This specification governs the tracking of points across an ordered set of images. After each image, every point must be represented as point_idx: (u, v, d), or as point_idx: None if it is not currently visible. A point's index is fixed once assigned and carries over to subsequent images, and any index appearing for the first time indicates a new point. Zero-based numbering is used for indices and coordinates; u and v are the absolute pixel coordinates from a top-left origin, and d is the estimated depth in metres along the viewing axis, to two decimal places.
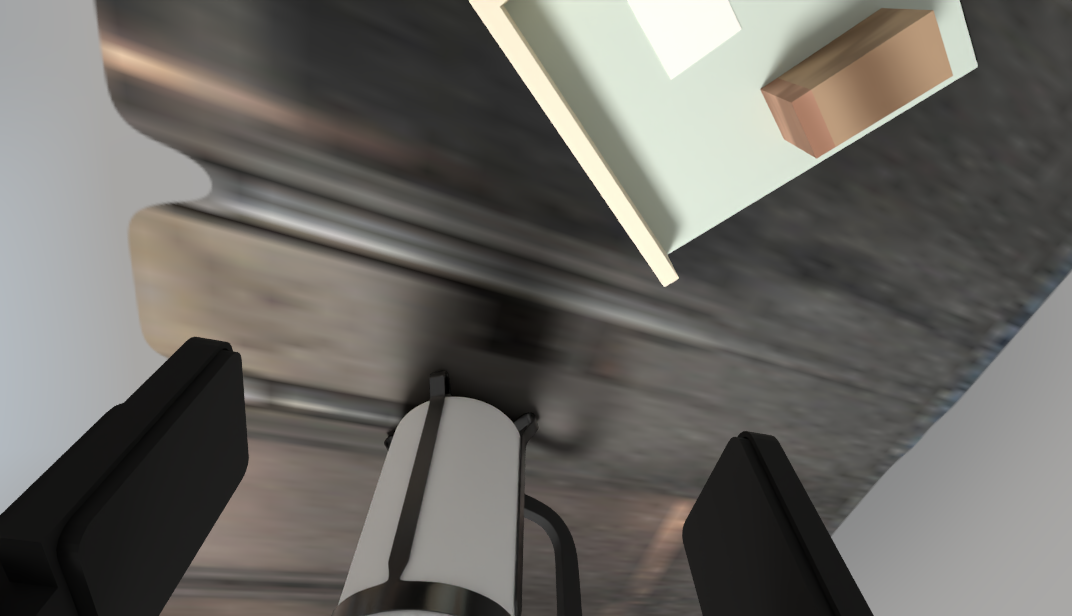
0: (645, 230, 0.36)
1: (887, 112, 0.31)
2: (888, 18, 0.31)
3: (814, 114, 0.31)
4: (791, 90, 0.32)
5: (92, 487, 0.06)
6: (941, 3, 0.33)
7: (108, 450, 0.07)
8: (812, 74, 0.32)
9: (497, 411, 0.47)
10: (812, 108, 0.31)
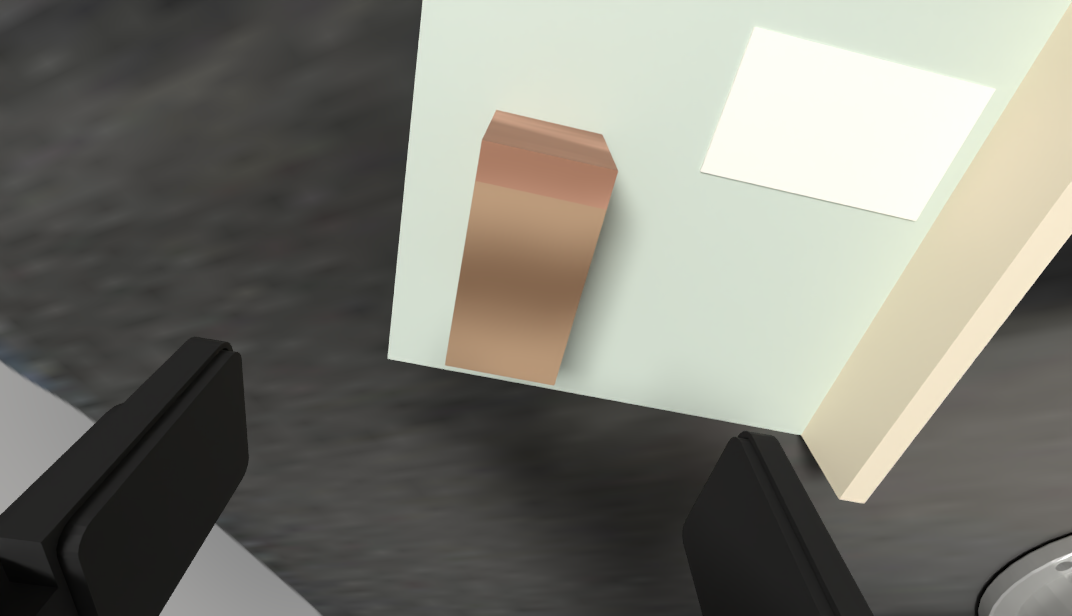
0: None
1: (464, 276, 0.17)
2: None
3: (563, 188, 0.16)
4: None
5: (91, 487, 0.06)
6: None
7: (108, 450, 0.07)
8: None
9: None
10: (575, 192, 0.16)
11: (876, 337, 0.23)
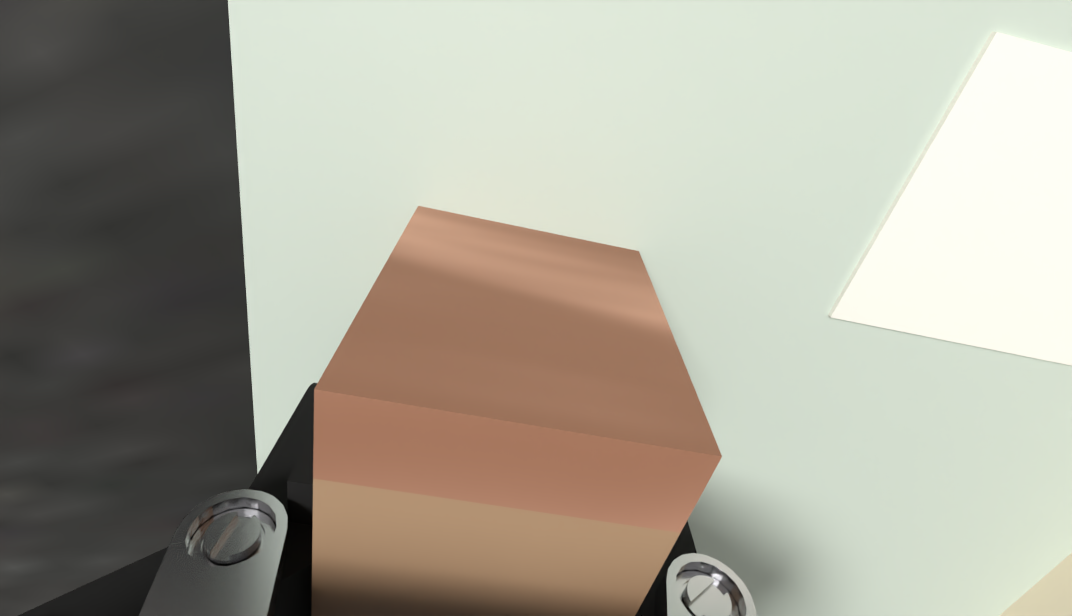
0: None
1: None
2: None
3: (562, 492, 0.06)
4: None
5: None
6: None
7: None
8: None
9: None
10: (597, 499, 0.06)
11: None
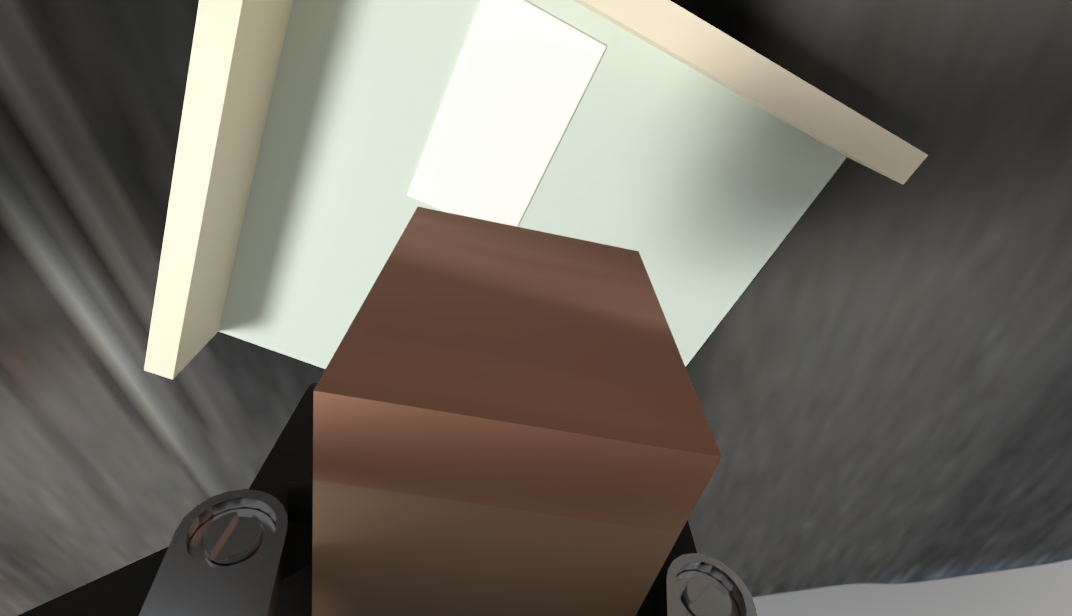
0: (184, 297, 0.22)
1: None
2: None
3: (562, 493, 0.06)
4: None
5: None
6: None
7: None
8: None
9: None
10: (597, 499, 0.06)
11: (729, 89, 0.21)
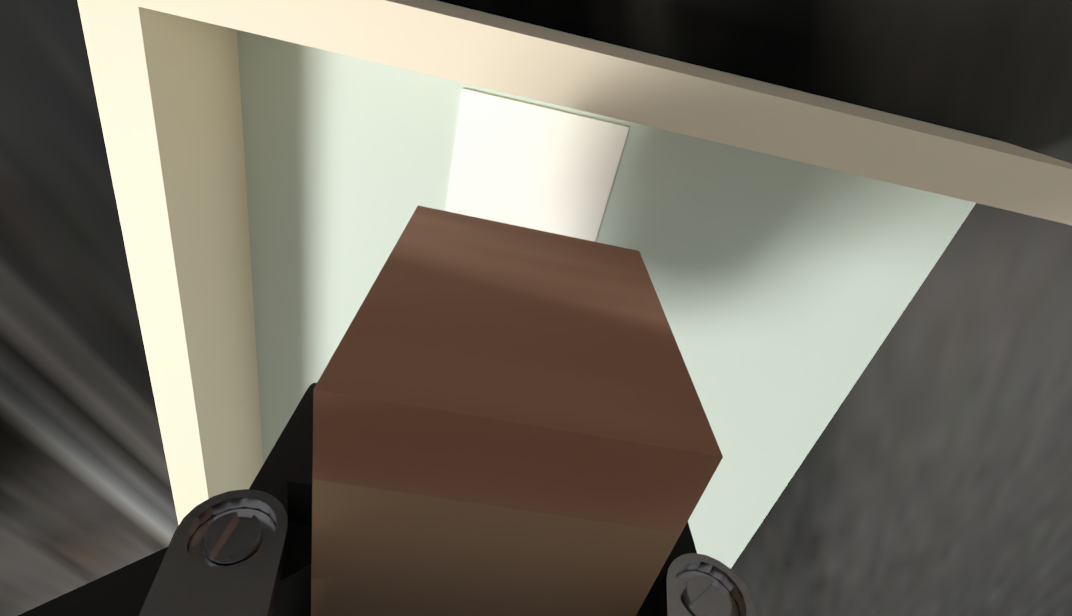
0: None
1: None
2: None
3: (563, 493, 0.06)
4: None
5: None
6: (751, 506, 0.24)
7: None
8: None
9: None
10: (598, 499, 0.06)
11: None
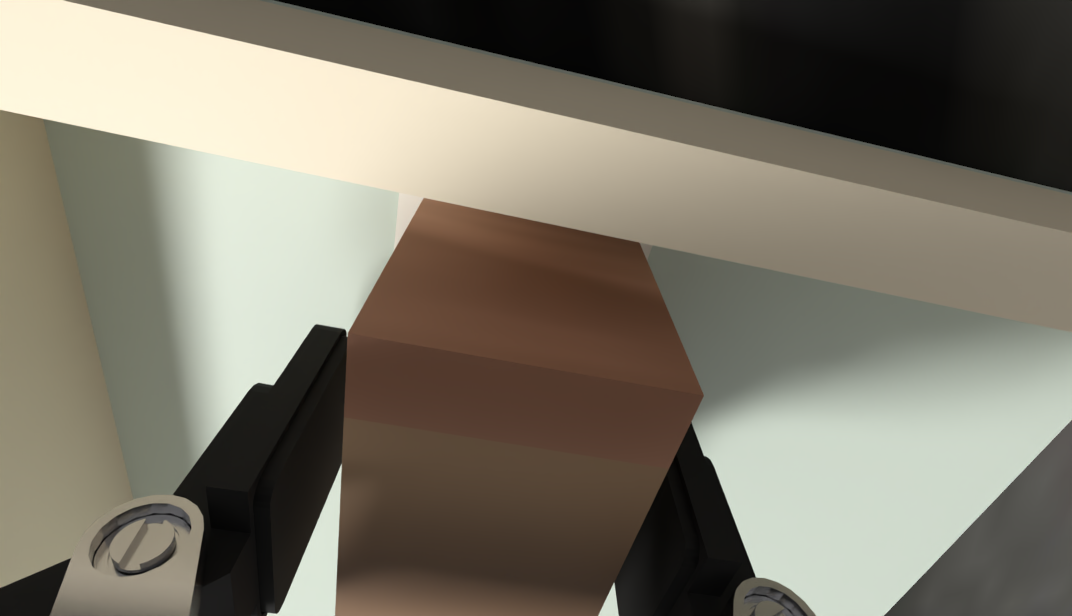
0: None
1: (348, 578, 0.08)
2: None
3: (564, 430, 0.06)
4: None
5: (272, 449, 0.07)
6: None
7: (277, 419, 0.08)
8: None
9: None
10: (594, 436, 0.06)
11: None
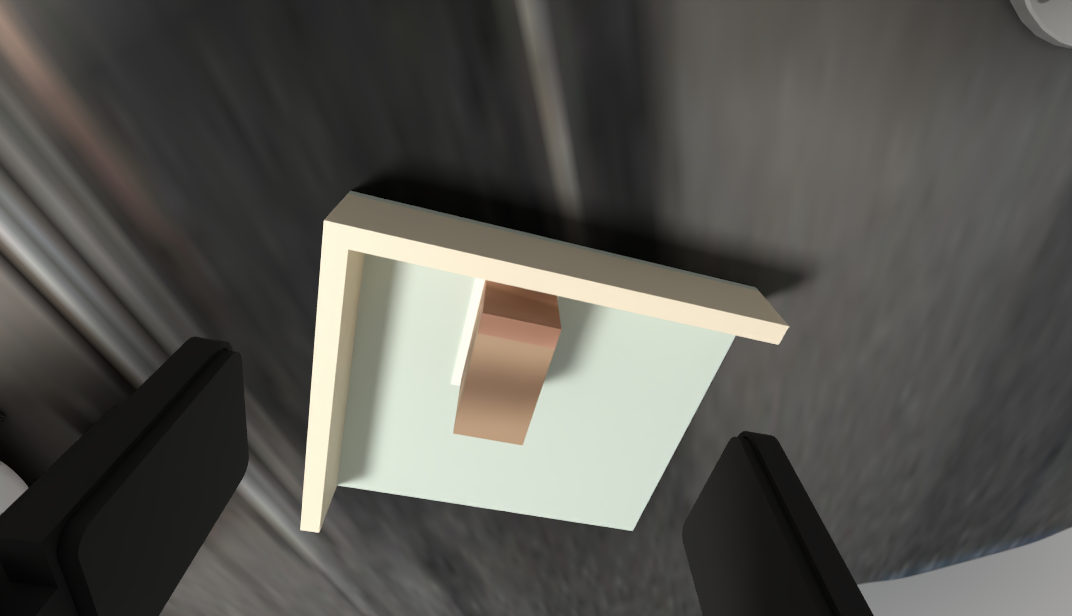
0: (322, 484, 0.33)
1: (468, 383, 0.28)
2: None
3: (529, 337, 0.27)
4: None
5: (92, 488, 0.06)
6: (644, 484, 0.39)
7: (108, 450, 0.07)
8: None
9: None
10: (536, 339, 0.27)
11: None
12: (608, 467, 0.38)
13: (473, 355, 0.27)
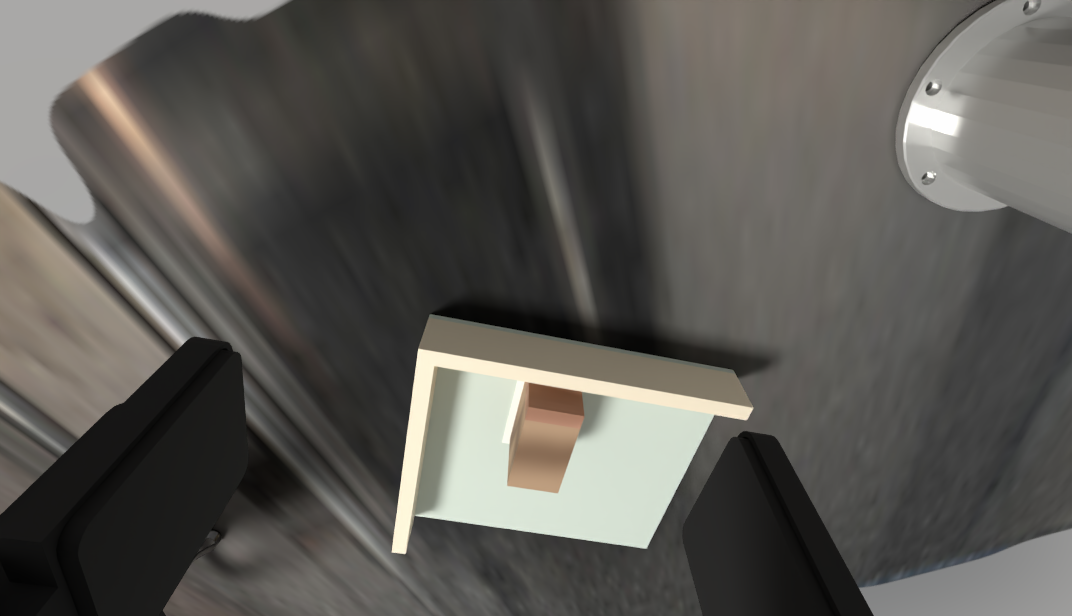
0: (409, 519, 0.44)
1: (518, 452, 0.39)
2: None
3: (561, 422, 0.37)
4: None
5: (91, 487, 0.06)
6: (653, 513, 0.50)
7: (108, 450, 0.07)
8: None
9: None
10: (567, 423, 0.37)
11: None
12: (624, 500, 0.49)
13: (521, 434, 0.38)
